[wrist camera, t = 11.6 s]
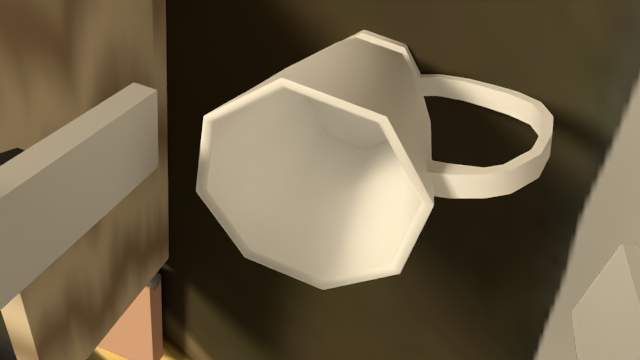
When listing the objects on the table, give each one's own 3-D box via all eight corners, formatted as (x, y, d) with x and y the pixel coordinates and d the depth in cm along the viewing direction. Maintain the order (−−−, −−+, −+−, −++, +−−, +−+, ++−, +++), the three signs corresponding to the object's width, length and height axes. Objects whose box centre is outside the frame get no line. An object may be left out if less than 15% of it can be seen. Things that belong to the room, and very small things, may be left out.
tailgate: (-50, 206, 31) (-16, 299, 37) (150, 283, 29) (154, 370, 35) (-33, 195, 32) (-3, 287, 38) (162, 269, 30) (164, 355, 36)
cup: (272, 0, 20) (157, 81, 13) (556, -22, 16) (582, 71, 10) (302, 157, 23) (222, 279, 17) (538, 164, 20) (549, 319, 14)
